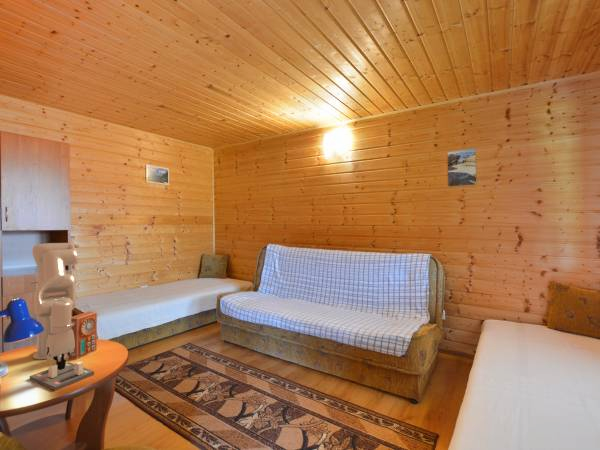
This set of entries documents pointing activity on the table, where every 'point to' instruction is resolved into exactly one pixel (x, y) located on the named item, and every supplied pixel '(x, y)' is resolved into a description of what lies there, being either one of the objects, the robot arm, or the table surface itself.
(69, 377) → the breaker panel
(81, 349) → the control panel
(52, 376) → the block
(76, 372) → the block
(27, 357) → the table surface
